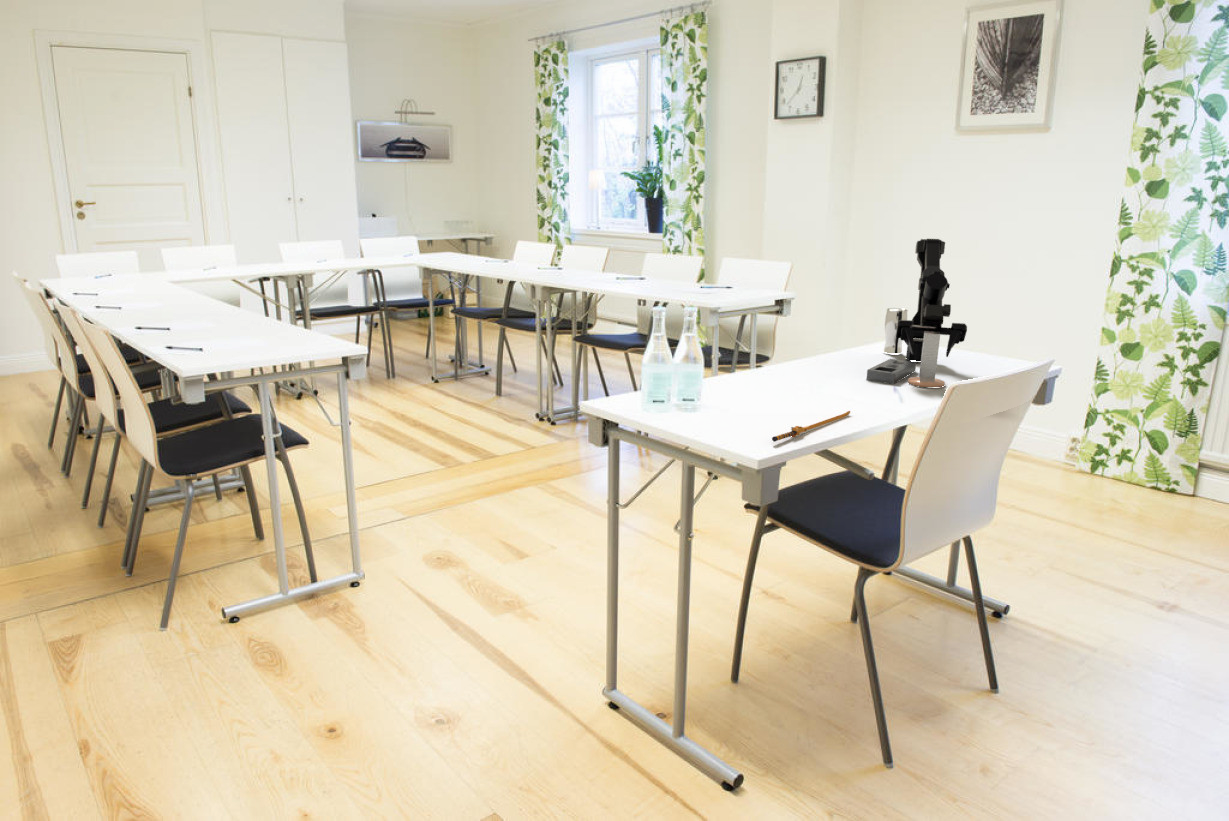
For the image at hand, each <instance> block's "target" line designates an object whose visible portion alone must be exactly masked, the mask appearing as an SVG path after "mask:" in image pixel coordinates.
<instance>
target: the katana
mask: <svg viewBox="0 0 1229 821" xmlns="http://www.w3.org/2000/svg"><path fill="white" fill-rule="evenodd" d="M850 414H851V410H848V411H846V412H844V413H841V414H839V415H835V416H833V417H830V418H827V419H824V420H821V421H819V422H816V423H813V424H811V425H807V426H799V425H796V426H791V427H790V430H791V431H789V432H785V433H782V434H779V435H775V436H772V437H771V439H772V440H771V441H773V443H774V442H777V441H780V440H784V439H787V438H792V437H795V438H797V437H799V436H802V435H804V433H805V434H807V433H808V432H811V431H813V430H816V429H818V428H821V427H823V426H825V425H826V426H827V425H829V424H831V423H834V422H836V421H839V420H841V419H844V418H846V417H848V416H849V415H850ZM798 435H799V436H798ZM791 436H792V437H791Z"/></svg>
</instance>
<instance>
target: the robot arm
mask: <svg viewBox="0 0 1229 821" xmlns="http://www.w3.org/2000/svg"><path fill="white" fill-rule="evenodd" d="M945 247H946V242H945V241H943V240H942V239H940V238H925V239H923V238H920V240H917V242H916V245H915V250H914V251H915V254H916V260H917V261H916V262H918V264H919V267H920V277H919V278H918V279H919V280H918V286H917V288H918V289H917V290H918V300H917V301H918V302H917V312H916V313H915V314H914V316H913V317H912V319H910V320H909V319H907V320H899V321H898V324H897V329H896V337H897V338H901V340H902V341H903V342H904V343H905V344H906V346H907V347H906V355H905V357H906V358H907V359H909V360H916V361H921V355H922V347H923V338H924V331H931V332H939V333H940V336H942V335H943V336H949V338H948V341H947V348H946V352H945V357H946V358H948V357H949V356H950V353H951V351H952V349H953V347H954V346H955V345H956V344H960V343H962V342H964V341H965V339H966V335H967V331H968V326H967V324H966V323H964V322H963V323H960V322H951V326H950V327H945V326H944V327H942V326H943V324H944V318H949V317H950V315H951V310H952V308H951V306H952V305H951V304H949V303H948V304H947V303H944V304H943V299H944V296H945V293H946V291H947V290H948V289H950V283H949V281H948V279H947V277H946V276H945V272H944V271H943V270H942V269H941V258H942V255H945V249H946V248H945ZM907 359H906V360H907ZM909 360H908V361H909Z"/></svg>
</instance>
